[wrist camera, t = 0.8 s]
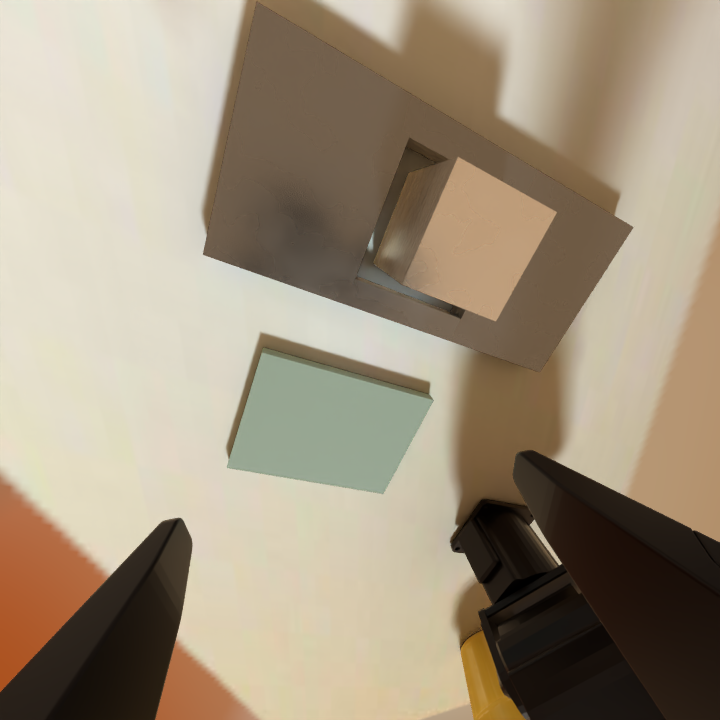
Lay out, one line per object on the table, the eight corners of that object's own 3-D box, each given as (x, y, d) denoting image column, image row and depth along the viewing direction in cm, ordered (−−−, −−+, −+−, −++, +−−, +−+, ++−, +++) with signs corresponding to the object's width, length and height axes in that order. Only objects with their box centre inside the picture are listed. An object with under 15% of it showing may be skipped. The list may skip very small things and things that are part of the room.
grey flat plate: (611, 226, 20) (633, 227, 19) (526, 363, 24) (539, 372, 22) (260, 21, 14) (256, 1, 13) (210, 251, 17) (202, 254, 16)
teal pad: (429, 394, 24) (433, 400, 23) (381, 486, 27) (383, 493, 26) (263, 347, 20) (261, 352, 19) (228, 459, 23) (226, 467, 22)
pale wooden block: (483, 211, 19) (557, 212, 13) (444, 291, 21) (496, 321, 15) (408, 172, 17) (458, 156, 12) (372, 263, 19) (402, 284, 14)
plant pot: (476, 613, 38) (530, 735, 29) (538, 620, 41) (603, 731, 32) (430, 662, 41) (466, 786, 32) (491, 665, 44) (539, 778, 35)
